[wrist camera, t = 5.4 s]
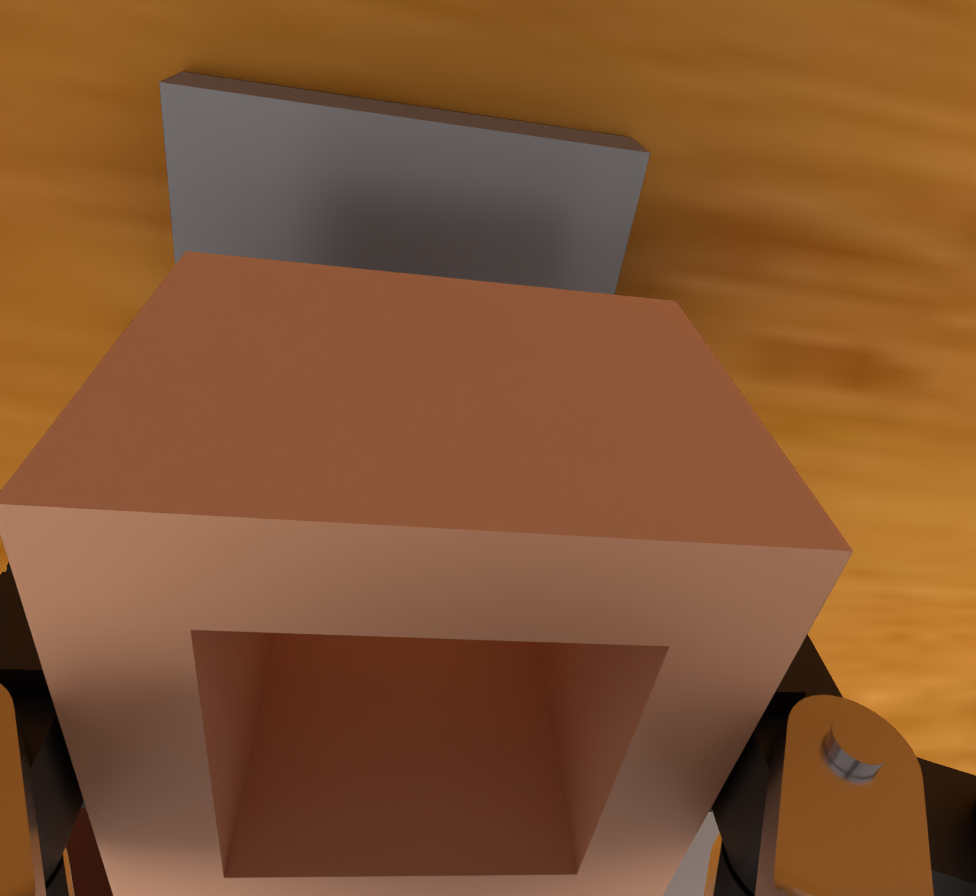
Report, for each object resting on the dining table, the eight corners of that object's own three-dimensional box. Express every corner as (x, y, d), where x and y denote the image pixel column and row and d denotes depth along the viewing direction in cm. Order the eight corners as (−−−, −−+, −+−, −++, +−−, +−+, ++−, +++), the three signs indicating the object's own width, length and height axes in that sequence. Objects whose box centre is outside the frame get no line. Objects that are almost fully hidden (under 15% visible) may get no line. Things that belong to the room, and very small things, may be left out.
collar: (186, 251, 9) (-10, 503, 5) (676, 301, 10) (853, 551, 6) (221, 609, 13) (124, 929, 9) (580, 623, 14) (648, 919, 9)
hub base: (182, 71, 14) (39, 137, 9) (631, 137, 15) (745, 230, 10) (224, 665, 23) (167, 875, 18) (503, 674, 24) (527, 871, 19)
